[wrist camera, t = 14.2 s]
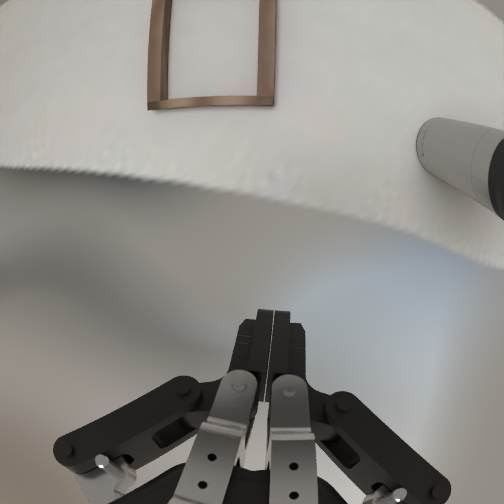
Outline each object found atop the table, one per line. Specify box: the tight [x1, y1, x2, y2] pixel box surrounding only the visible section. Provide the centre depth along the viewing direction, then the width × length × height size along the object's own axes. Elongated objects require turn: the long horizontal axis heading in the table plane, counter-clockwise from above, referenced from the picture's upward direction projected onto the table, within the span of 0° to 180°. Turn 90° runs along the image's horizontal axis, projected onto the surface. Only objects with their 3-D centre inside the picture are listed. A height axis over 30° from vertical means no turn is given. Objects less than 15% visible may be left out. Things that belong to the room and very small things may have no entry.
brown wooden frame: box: [147, 0, 276, 110], centre depth 28 cm, size 17×20×2 cm
